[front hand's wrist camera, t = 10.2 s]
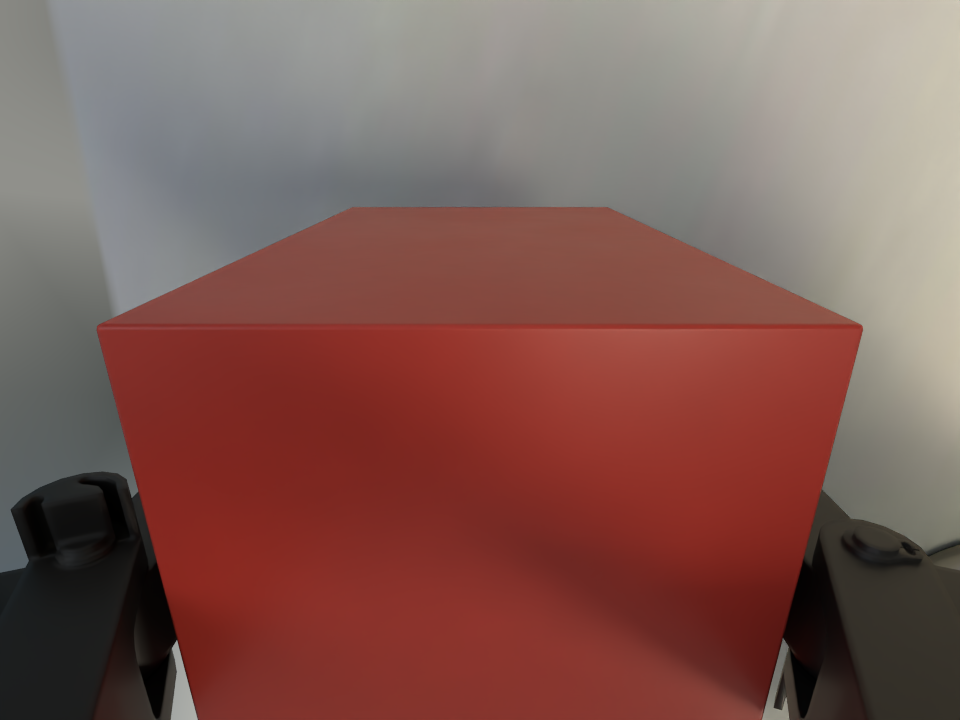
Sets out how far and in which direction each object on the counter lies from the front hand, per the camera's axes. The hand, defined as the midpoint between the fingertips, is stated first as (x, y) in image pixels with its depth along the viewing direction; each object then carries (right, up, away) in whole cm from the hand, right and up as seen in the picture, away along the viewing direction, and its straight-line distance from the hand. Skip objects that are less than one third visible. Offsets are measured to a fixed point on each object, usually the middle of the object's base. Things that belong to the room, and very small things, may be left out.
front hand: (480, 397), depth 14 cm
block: (0, +1, +3) cm, 4 cm away
